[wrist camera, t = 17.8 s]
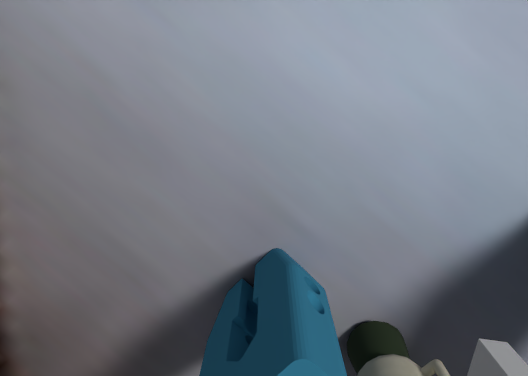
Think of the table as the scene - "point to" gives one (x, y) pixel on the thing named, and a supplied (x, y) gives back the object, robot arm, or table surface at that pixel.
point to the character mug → (385, 353)
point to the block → (274, 326)
